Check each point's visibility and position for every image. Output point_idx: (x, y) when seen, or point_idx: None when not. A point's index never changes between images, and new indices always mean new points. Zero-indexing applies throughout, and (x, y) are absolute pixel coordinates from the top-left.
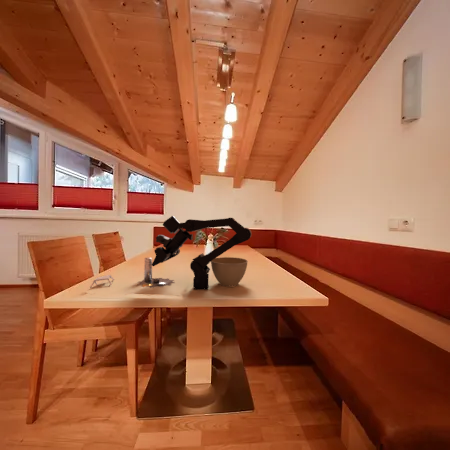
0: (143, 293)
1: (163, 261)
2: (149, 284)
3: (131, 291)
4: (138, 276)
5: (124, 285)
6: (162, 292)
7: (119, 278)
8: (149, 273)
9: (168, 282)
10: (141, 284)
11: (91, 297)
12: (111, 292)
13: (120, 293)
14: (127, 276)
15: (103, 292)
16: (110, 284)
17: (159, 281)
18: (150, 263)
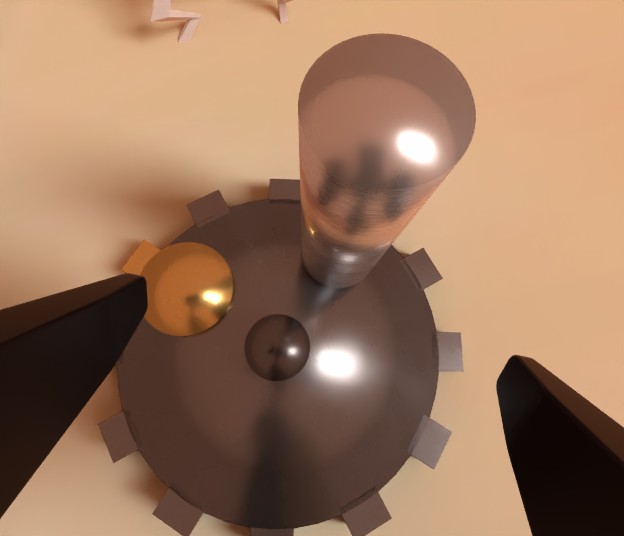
0: (45, 296)
1: (510, 437)
2: (190, 301)
3: (110, 194)
4: (575, 120)
5: (278, 100)
6: (53, 455)
7: (480, 8)
8: (308, 250)
9: (275, 481)
10: (201, 229)
11: (3, 7)
12: (99, 75)
13: (67, 136)
14: (555, 42)
15: (104, 31)
16: (153, 14)
17: (312, 372)
18: (320, 211)
